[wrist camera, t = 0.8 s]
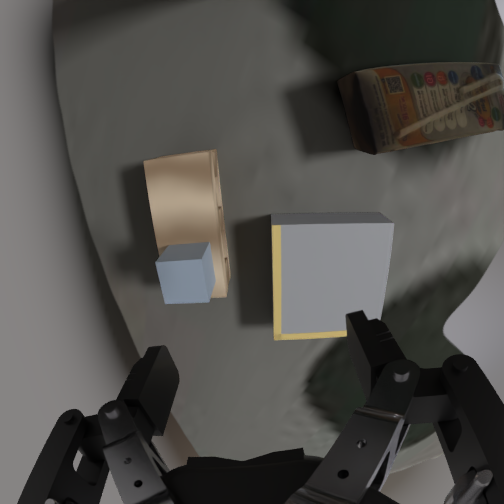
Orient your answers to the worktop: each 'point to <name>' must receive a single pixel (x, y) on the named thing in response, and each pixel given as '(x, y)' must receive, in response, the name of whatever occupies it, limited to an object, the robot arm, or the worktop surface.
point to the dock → (327, 271)
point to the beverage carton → (421, 104)
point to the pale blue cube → (186, 273)
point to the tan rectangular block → (189, 207)
